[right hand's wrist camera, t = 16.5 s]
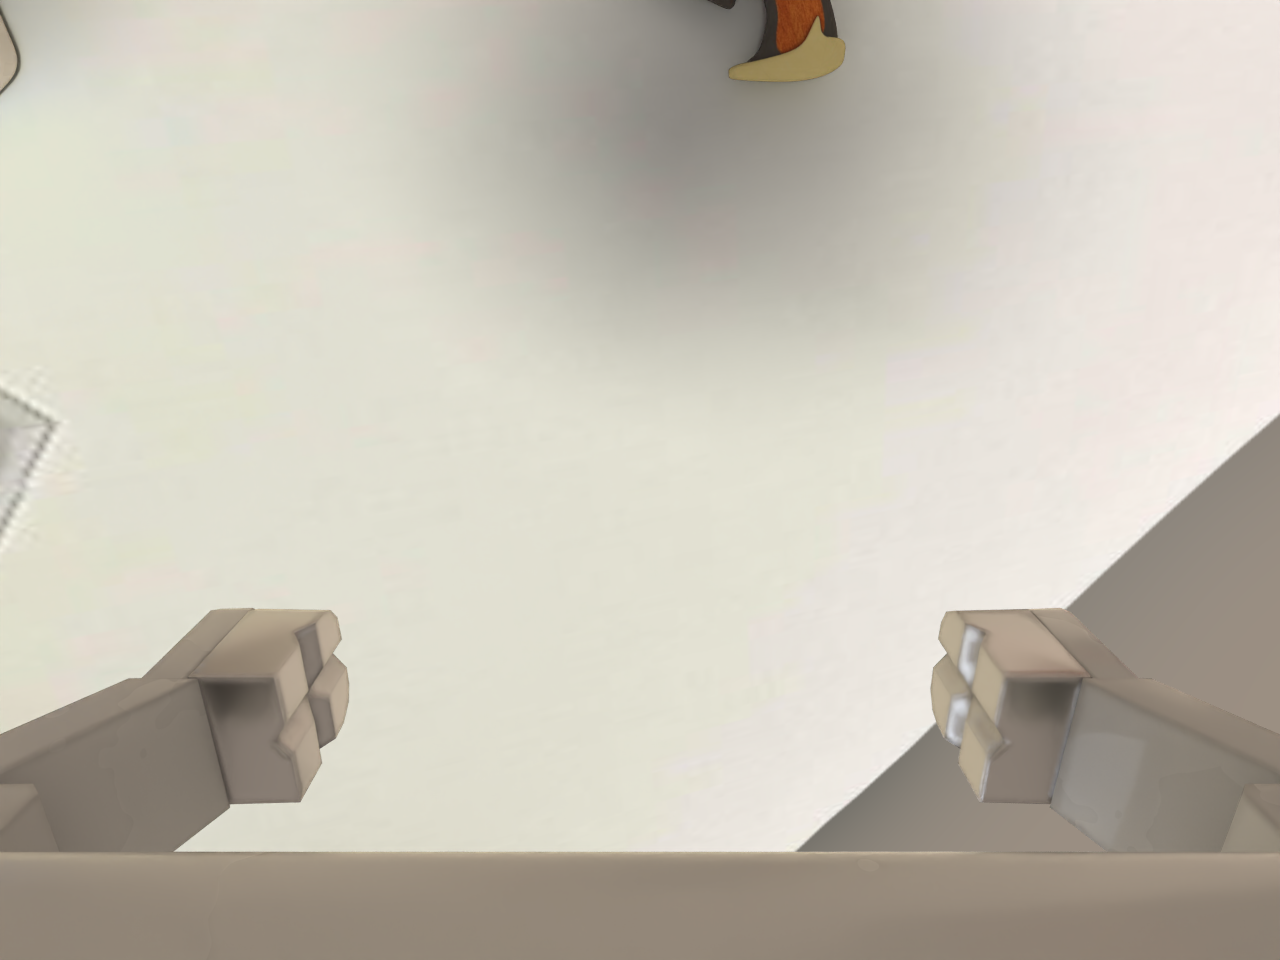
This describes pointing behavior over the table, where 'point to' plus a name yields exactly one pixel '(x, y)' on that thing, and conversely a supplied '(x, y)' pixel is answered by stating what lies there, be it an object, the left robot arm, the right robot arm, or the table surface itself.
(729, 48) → the table surface
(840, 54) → the toy gun
